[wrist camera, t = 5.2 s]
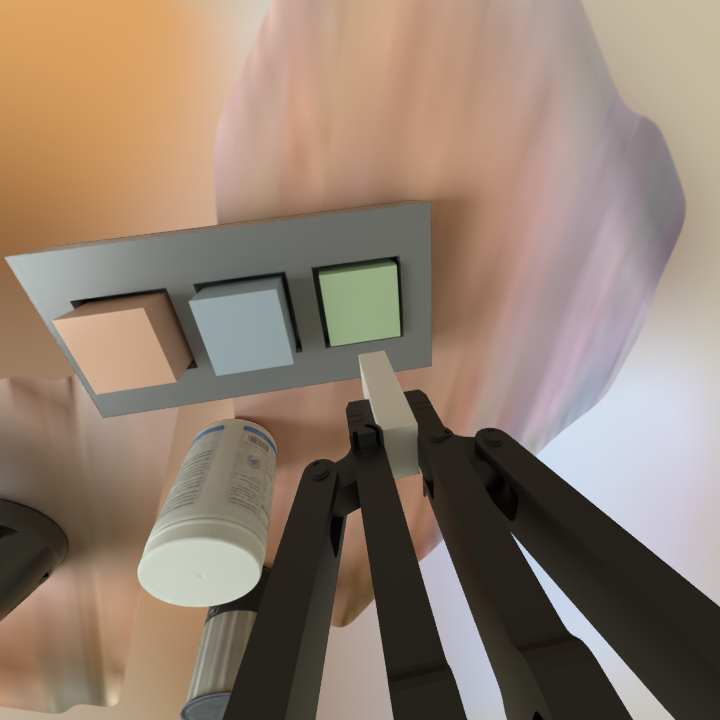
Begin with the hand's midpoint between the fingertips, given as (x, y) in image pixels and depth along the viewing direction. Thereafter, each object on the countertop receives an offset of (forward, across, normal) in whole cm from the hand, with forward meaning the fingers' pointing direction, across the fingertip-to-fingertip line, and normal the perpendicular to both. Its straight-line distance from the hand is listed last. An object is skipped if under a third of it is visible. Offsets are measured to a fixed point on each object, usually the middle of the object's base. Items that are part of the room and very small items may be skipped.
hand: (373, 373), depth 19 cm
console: (+15, -8, +1) cm, 17 cm away
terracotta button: (+11, -17, +1) cm, 21 cm away
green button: (+13, +1, +1) cm, 13 cm away
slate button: (+11, -8, +1) cm, 14 cm away
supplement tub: (+15, -15, -16) cm, 27 cm away
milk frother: (+15, -20, -46) cm, 52 cm away
